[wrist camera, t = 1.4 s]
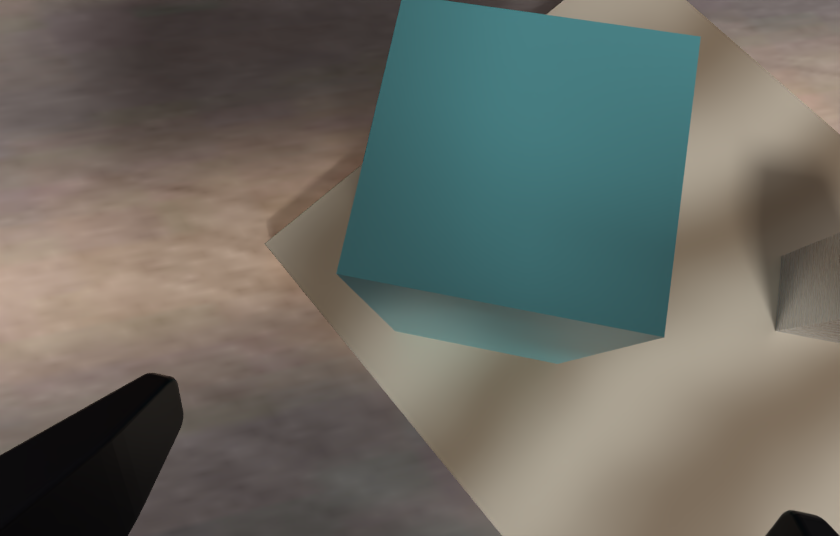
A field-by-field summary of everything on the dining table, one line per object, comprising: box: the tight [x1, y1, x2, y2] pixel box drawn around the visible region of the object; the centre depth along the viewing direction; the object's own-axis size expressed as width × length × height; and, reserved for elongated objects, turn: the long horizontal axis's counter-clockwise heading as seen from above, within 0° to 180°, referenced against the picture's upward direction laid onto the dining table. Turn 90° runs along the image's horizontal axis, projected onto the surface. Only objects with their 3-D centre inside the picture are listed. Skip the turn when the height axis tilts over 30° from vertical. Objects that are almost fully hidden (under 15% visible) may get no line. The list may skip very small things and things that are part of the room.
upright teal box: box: [336, 0, 701, 364], centre depth 15 cm, size 6×6×10 cm
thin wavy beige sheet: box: [265, 0, 840, 536], centre depth 20 cm, size 20×18×1 cm
